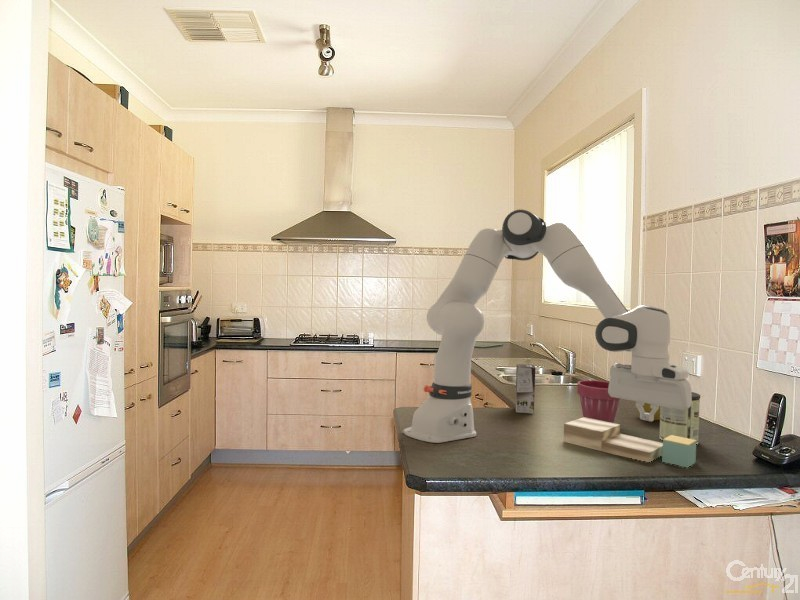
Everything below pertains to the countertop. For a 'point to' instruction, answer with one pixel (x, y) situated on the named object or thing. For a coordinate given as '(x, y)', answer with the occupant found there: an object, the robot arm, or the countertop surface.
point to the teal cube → (679, 451)
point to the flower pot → (648, 410)
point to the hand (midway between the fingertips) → (646, 420)
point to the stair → (610, 439)
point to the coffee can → (681, 420)
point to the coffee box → (525, 388)
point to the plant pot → (597, 400)
